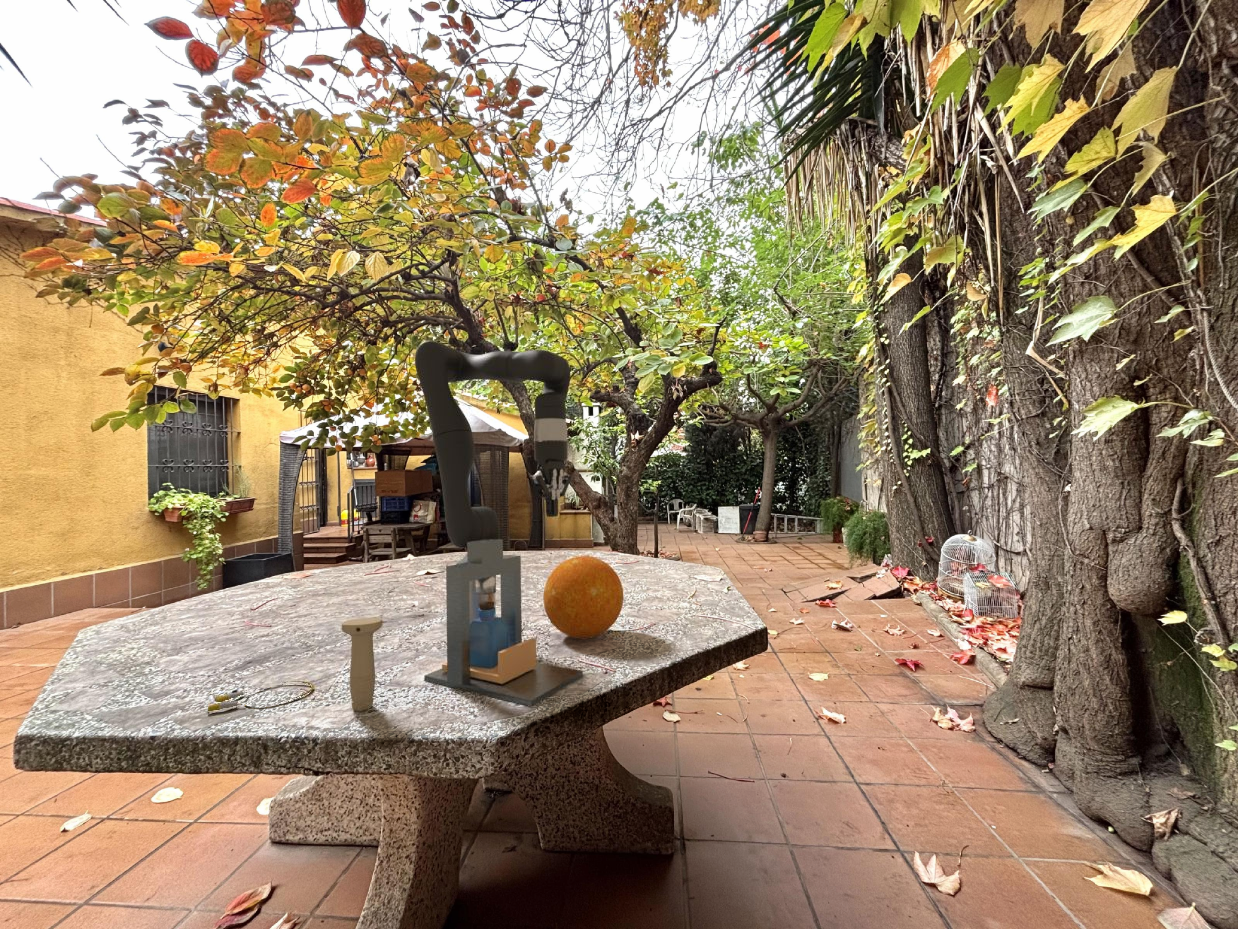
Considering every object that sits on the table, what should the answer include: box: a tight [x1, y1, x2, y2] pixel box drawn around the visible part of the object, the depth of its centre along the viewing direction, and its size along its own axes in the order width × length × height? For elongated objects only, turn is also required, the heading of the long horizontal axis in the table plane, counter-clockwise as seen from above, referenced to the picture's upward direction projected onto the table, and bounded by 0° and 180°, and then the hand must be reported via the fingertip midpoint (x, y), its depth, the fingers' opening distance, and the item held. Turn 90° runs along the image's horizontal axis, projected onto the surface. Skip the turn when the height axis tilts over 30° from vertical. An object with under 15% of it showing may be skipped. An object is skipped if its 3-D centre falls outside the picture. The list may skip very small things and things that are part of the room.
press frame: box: [423, 539, 584, 707], centre depth 106 cm, size 27×17×27 cm, turn 60°
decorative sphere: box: [542, 555, 624, 639], centre depth 133 cm, size 20×20×20 cm
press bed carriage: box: [441, 637, 537, 684], centre depth 107 cm, size 16×10×6 cm, turn 60°
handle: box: [341, 617, 383, 712], centre depth 93 cm, size 5×6×15 cm
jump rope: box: [207, 680, 315, 712], centre depth 98 cm, size 12×16×2 cm
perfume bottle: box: [470, 601, 509, 669], centre depth 108 cm, size 6×6×12 cm
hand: (552, 516), depth 120 cm, fingers closed
